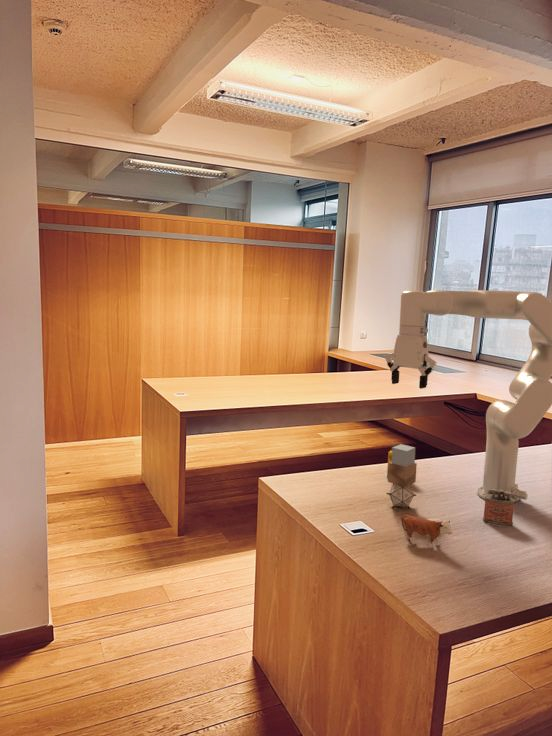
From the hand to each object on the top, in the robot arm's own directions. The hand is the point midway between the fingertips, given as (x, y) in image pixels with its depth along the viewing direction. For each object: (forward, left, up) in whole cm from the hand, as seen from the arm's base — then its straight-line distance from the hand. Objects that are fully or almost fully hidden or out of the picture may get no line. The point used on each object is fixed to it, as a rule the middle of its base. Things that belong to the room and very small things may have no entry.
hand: (408, 385), depth 172 cm
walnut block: (-4, +8, -28) cm, 30 cm away
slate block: (-4, +8, -22) cm, 24 cm away
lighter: (-30, -2, -36) cm, 47 cm away
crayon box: (+9, -12, -36) cm, 39 cm away
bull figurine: (-22, +25, -37) cm, 49 cm away
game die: (-4, +8, -37) cm, 38 cm away
